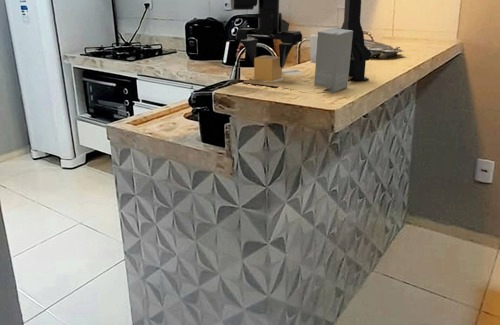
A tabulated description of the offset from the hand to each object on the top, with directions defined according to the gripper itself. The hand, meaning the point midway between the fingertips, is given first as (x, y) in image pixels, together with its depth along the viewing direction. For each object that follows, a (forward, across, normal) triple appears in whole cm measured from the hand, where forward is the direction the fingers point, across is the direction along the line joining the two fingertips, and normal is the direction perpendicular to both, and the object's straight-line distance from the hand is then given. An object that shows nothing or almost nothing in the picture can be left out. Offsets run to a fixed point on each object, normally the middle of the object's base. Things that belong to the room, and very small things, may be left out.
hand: (268, 66), depth 140 cm
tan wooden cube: (+4, 0, 0) cm, 4 cm away
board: (+5, 0, -6) cm, 8 cm away
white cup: (+5, +1, -38) cm, 38 cm away
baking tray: (+5, -5, -69) cm, 69 cm away
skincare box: (+5, -19, -2) cm, 20 cm away
